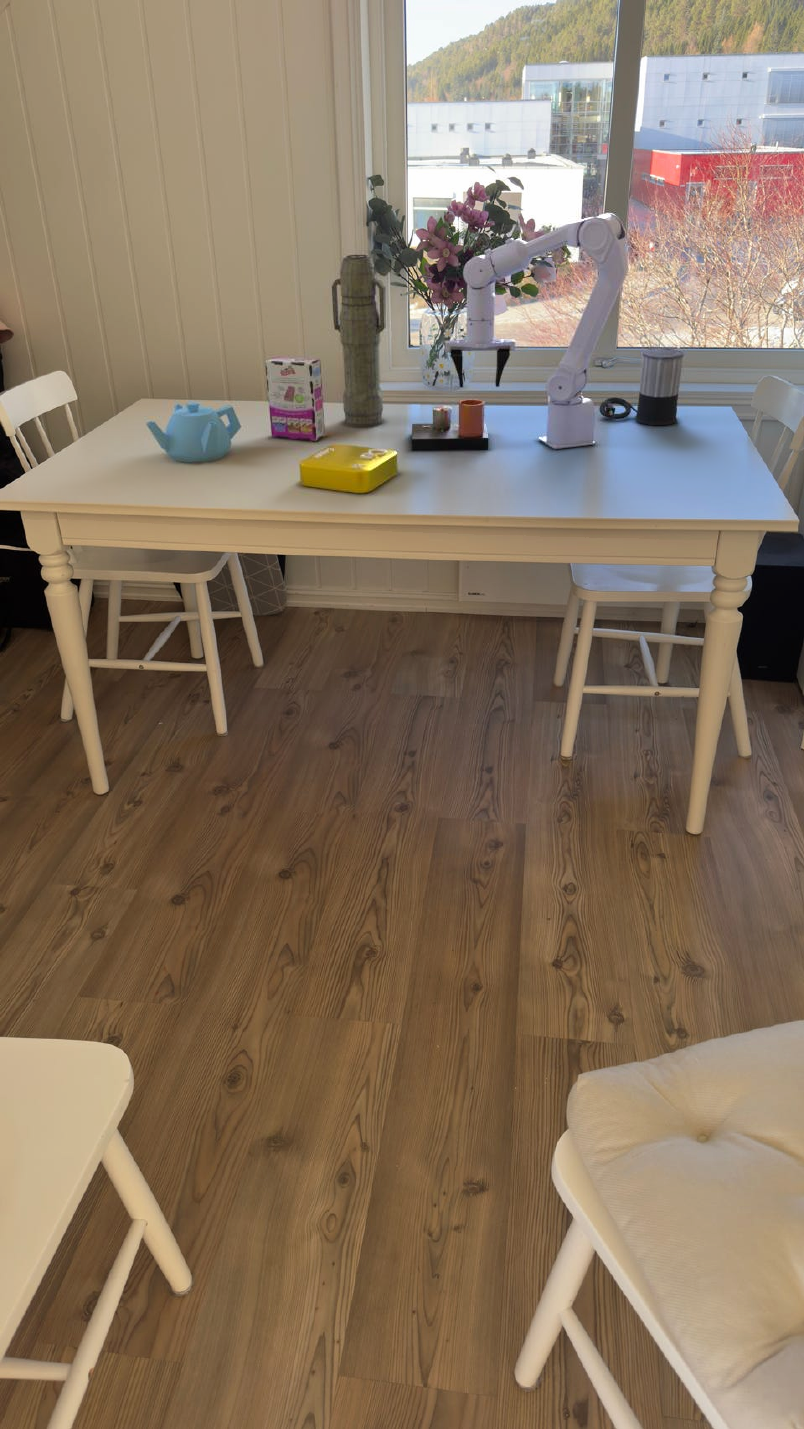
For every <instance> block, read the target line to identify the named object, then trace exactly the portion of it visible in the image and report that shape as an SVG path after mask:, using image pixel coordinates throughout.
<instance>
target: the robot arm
mask: <svg viewBox="0 0 804 1429" xmlns="http://www.w3.org/2000/svg"><path fill="white" fill-rule="evenodd" d="M627 238H628V236H627V231H626V229H625V226H624V225H623V222H622V220H621V219H620V218H619V216H618V215H616V214H614V213H612V212H604V213H600V214H599V215H598V216H591V217H587V218H586V217H585V218H582V219H579V220H575V221H571V222H569V223H566V224H564V225H562V226H559V227H557V228H555V229H553V230H551V231H549V232H547V233H545V234H543V235H541V236H538V237H536V238H534V239H532V240H529V241H525V240H522V239H521V238H517V239H514V237H511V238H509V239H506V240H505V244H503V245H500V246H498V247H496V248H492V249H491V248H487V249H485V250H484V254H480V255H476V256H473V257H471V258H470V259H469V260H468V261H467V262H466V263H465V265H464V266H463V270H462V274H463V276H462V277H463V280H464V281H465V283H466V338H465V339H464V338H463V339H454V340H453V339H452V340H445V341H444V342H445V344H444V347H445V348H444V350H445V353H450V357H451V360H452V362H453V364H454V367H455V370H456V374H457V377H458V382H459V384H458V385H459V388H464V375H463V366H464V364H463V361H464V355H463V352H483V351H484V352H489V351H490V352H491V351H492V352H493V351H496V371H495V382H494V384H495V387H496V388H499V387H500V385H501V379H502V375H503V372H504V369H505V367H506V364H507V363H508V361H509V359H510V355H511V352H515V351H516V340H515V339H507V338H505V339H503V338H495V312H496V311H495V309H496V308H495V306H496V288H495V287H496V281H497V280H498V281H500V280H503V279H505V278H507V277H510V276H513V275H514V274H517V273H519V272H521V271H524V270H527V269H528V268H529V266H530V265H531V263H532V261H533V259H534V258H536V257H539V256H542V255H544V254H546V253H549V252H552V251H555V250H558V249H559V248H562V247H564V246H568V247H572V248H575V249H578V248H582V249H583V251H584V252H585V253H586V254H587V255H588V256H589V258H591V260H592V261H593V263H594V265H595V268H596V269H597V272H598V276H597V280H596V281H595V284H594V286H593V289H592V291H591V293H590V296H589V298H588V301H587V303H586V305H585V307H584V310H583V312H582V314H581V316H580V319H579V322H578V324H577V327H576V328H575V331H574V334H573V336H572V339H571V341H570V343H569V345H568V348H567V349H566V352H565V353H564V355H563V357H562V358H561V360H560V362H559V364H558V365H557V368H556V370H555V371H554V372H553V373H552V374H550V376H548V378H547V379H546V384H545V391H546V394H547V396H548V398H547V399H548V400H547V401H548V402H547V418H546V436H541V437H538V441H540V442H542V443H543V444H545V445H547V446H549V447H550V448H551V449H554V450H560V449H568V448H575V447H583V446H591V445H595V444H596V443H595V441H594V435H595V434H594V433H595V422H596V421H595V420H596V408H595V405H594V404H595V403H594V402H593V401H592V399H590V398H587V397H584V395H583V392H582V391H583V390H584V389H585V387H586V385H587V382H588V370H589V367H590V365H591V357H592V355H593V352H594V350H595V348H596V346H597V344H598V342H599V339H600V337H601V334H602V332H603V330H604V328H605V325H606V323H607V320H608V319H609V316H610V314H611V312H612V309H613V307H614V304H615V302H616V301H617V298H618V296H619V293H620V291H621V289H622V287H623V284H624V282H625V280H626V278H627V276H628V271H629V261H628V250H627Z"/></svg>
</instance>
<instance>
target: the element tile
mask: <svg viewBox="0 0 804 1429" xmlns="http://www.w3.org/2000/svg"><path fill="white" fill-rule="evenodd" d="M298 465H299V466H298V467H299V479H300V484H301V485H302V486H304V487H307V488H308V487H309V488H315V489H321V490H331V491H335V492H336V491H337V492H344V493H351V494H367V493H370V492H372V491H374V490H375V489H377V488H378V487H380V486H381V485H383V484H384V483H385V482H387V481H389V480H390V479H392V478H394V477H395V476H396V475H397V474H398V452H397V451H396V450H393V449H384V448H378V447H377V448H375V447H367V446H358V445H350V444H341V443H334V444H331V445H329V446H327V447H324V448H323V449H320V450H319V451H317V452H316V453H314V454H312V455H310V456H308V457H306V458H305V459H303V460H301V461H300V462H299V464H298Z"/></svg>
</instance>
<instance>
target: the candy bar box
mask: <svg viewBox="0 0 804 1429" xmlns="http://www.w3.org/2000/svg"><path fill="white" fill-rule="evenodd" d="M264 363H265V375H266V387H267V399H268V409H269V421H270V432H271V437H272V438H275V439H286V440H298V441H310V442H317V441H319V440H320V439H322V438H324V437H325V436H326V429H325V428H326V426H325V412H324V411H325V410H324V397H323V396H324V395H323V382H322V381H323V380H322V363H321V359H319V358H317V359H316V358H299V357H281V356H280V357H279V356H275V357H272V358H269V359H267V360H265V361H264Z"/></svg>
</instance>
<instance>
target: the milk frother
mask: <svg viewBox="0 0 804 1429" xmlns="http://www.w3.org/2000/svg"><path fill="white" fill-rule="evenodd" d="M641 355H642V360H641V371H640V383H639V392H638V401H637V409H636V408H635V407H634V406H633V405H632V404H631V403H630V402H629V401H627V400H625V399H624V398H621V397H609V398H607V399H605V400H603V401H602V402H601V403H600V405H599V410H598V411H599V413H600V414H601V416H603V417H605V418H607V419H613V420H622V419H626V418H628V416H630V414H631V412H632V410H633V411H634V412H635V413H636V415H635V417H634V420H635V421H636V422H637V423H642V424H644V425H650V426H667V425H672V424H675V423H676V422H677V421H678V418H677V414H678V400H679V392H680V386H681V384H680V383H681V376H682V368H683V360H684V359H683V358H684V356H685V352H683V351H682V350H679V349H674V348H668V347H667V348H666V347H665V348H659V347H658V348H648V349H645V350H642V351H641ZM614 405H620V406H622V407H623V408H624V409H625V411H623V412H621V413H616V407H614Z"/></svg>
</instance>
